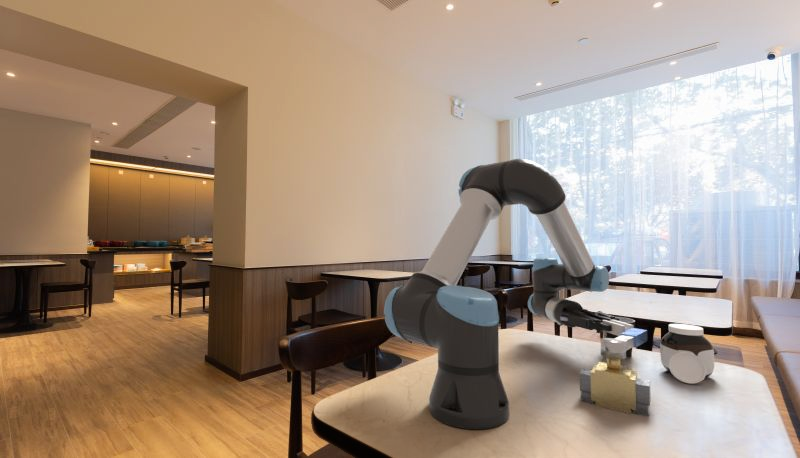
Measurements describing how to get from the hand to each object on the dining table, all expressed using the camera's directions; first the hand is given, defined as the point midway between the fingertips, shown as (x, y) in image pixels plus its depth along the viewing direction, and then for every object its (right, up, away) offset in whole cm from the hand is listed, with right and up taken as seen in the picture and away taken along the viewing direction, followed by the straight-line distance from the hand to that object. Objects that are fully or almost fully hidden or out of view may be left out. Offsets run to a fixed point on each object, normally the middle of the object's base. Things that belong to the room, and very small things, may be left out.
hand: (628, 331), depth 87 cm
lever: (-5, -2, -8) cm, 9 cm away
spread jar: (+15, -12, +1) cm, 19 cm away
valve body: (-11, -11, -13) cm, 20 cm away
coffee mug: (+10, -12, +21) cm, 26 cm away
